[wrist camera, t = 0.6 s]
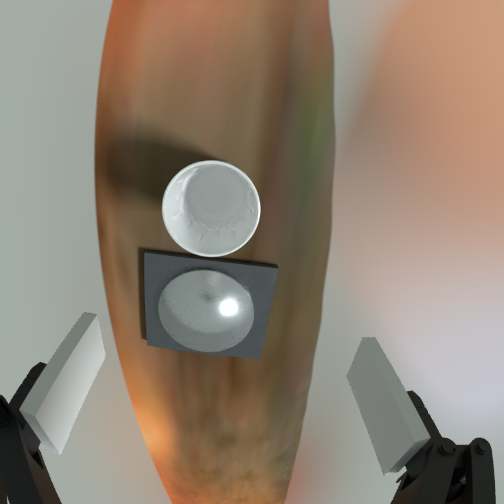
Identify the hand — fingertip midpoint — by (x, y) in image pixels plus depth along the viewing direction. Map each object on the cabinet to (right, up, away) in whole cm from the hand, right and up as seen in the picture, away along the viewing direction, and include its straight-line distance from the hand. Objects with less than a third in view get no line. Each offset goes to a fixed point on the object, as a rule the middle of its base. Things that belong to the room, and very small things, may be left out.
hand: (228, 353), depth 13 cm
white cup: (-3, +12, +19) cm, 23 cm away
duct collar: (-5, -2, +24) cm, 25 cm away
